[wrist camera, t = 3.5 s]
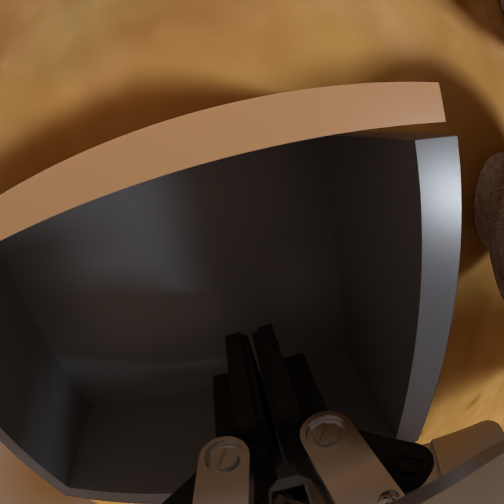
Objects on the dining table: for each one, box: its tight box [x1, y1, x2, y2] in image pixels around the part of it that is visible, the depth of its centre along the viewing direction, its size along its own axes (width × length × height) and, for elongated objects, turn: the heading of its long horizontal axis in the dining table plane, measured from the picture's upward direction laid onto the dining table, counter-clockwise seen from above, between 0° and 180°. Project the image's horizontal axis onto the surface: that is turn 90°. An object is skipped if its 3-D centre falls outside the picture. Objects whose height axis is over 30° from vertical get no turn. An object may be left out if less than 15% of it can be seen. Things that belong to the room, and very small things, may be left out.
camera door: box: [0, 82, 446, 241], centre depth 6 cm, size 16×2×5 cm, turn 103°
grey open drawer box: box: [0, 131, 462, 504], centre depth 9 cm, size 18×12×7 cm
